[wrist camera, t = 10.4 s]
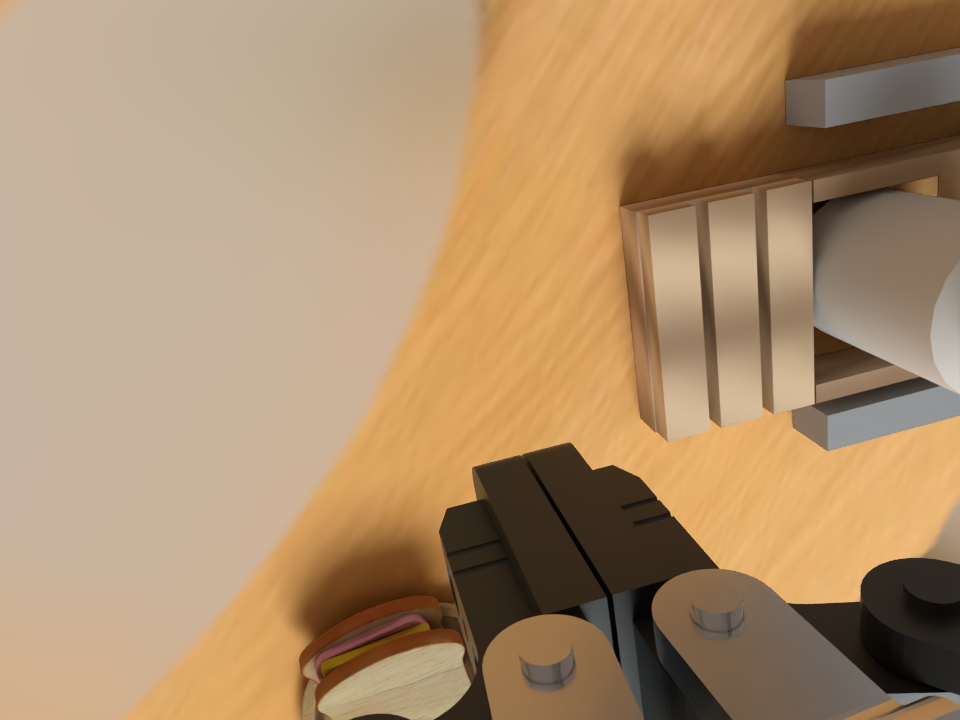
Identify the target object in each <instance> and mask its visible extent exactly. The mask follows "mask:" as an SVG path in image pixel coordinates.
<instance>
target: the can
mask: <svg viewBox="0 0 960 720" xmlns="http://www.w3.org/2000/svg"><path fill="white" fill-rule="evenodd" d="M812 245H813V320H814V326H815V327H816V328H817V329H819V330H820V331H823V332H825V333H827V334H829V335H831V336H833V337H836V338H838V339H840V340H842V341H844V342H846V343H849V344H851V345H853V346H855V347H857V348H859V349H862V350H864V351H866V352H868V353H870V354H872V355H875V356H877V357H879V358H881V359H883V360H886V361H888V362H890V363H892V364H894V365H896V366H899V367H901V368H903V369H905V370H907V371H909V372H912V373H914V374H916V375H918V376H920V377H922V378H925V379H927V380H929V381H931V382H933V383H935V384H938V385H940V386H942V387H944V388H946V389H948V390H951V391H953V392H955V393H957V394H959V395H960V201H959V200H953V199H947V198H941V197H935V196H929V195H923V194H917V193H911V192H905V191H899V190H893V189H887V188H879V189H874V190H870V191H865V192H861V193H856V194H851V195H847V196H842V197H838V198H833V199H831V200H830V201H829V202H828V203H826V204H825V205H824V206H823V207H822V208H820V209H819V210H818V211H817V212H816V213H814V215H813V216H812Z"/></svg>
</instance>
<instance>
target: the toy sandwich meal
mask: <svg viewBox="0 0 960 720" xmlns="http://www.w3.org/2000/svg"><path fill="white" fill-rule="evenodd" d="M299 662H300V669H301V673H302V675H303V676H305V677H306V678H308V679H309V681H308V683H307V686H306V689H305V692H304V696H303V700H302V707H301V720H350V719H353V718H356V717H360V716H363V715H369V714H377V713H379V714H393V715H399V716H402V717H405V718H407V719H410V720H434V719H435V718H437V717H439V716H440V715H442V714H443V713H444V712H446V711H447V710H449V709H450V708H451V707H452V706H453V705H455V704H456V703H457V702H458V701H459V700H460V699H461V698H462V696H463V695H464V694H465V693H466V692H467V690H468V689H469V687H470V685H471V684H472V682H473V679H474V677H475V673H474V670H473V666H472V663H471V660H470V657H469V654H468V650H467V647H466V643H465V641H464V637H463V634H462V631H461V627H460V624H459V621H458V617H457V613H456V608H455V604H451V603H439V602H438V600H437V598H435V597H433V596H429V595H417V596H410V597H405V598H400V599H396V600H392V601H388V602H385V603H382V604H379V605H376V606H374V607H371V608H369V609H366V610H364V611H362V612H359V613H357V614H355V615H353V616H351V617H349V618H347V619H345V620H344V621H342V622H340V623H338V624H337V625H335V626H334V627H332V628H330V629H329V630H327V631H326V632H324V633H323V634H322V635H320V636H319V637H317V638H316V639H315V640H314V641H313V642H312V643H310V644H309V645H308V646H307V647H306V648H305V649H304V651H303V652H302V653H301V655H300V658H299Z"/></svg>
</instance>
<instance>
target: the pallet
mask: <svg viewBox="0 0 960 720" xmlns="http://www.w3.org/2000/svg"><path fill="white" fill-rule="evenodd" d="M934 176H939V187H938V197H941V198H947V199H953V200H959V201H960V135H957V136H953V137H948V138H943V139H938V140H933V141H929V142H924V143H919V144H914V145H910V146H905V147H900V148H895V149H891V150H886V151H881V152H876V153H872V154H867V155H862V156H857V157H853V158H848V159H843V160H838V161H834V162H829V163H824V164H819V165H815V166H810V167H805V168H800V169H795V170H791V171H786V172H781V173H776V174H772V175H767V176H762V177H757V178H753V179H748V180H743V181H738V182H734V183H729V184H724V185H719V186H715V187H710V188H705V189H700V190H696V191H691V192H686V193H681V194H677V195H672V196H667V197H662V198H658V199H653V200H648V201H643V202H638V203H634V204H629V205H624V206H619V207H620V217H621V227H622V237H623V247H624V257H625V267H626V277H627V287H628V297H629V307H630V317H631V327H632V337H633V347H634V357H635V366H636V376H637V386H638V396H639V406H640V416H641V419H642V420H643V421H644V422H645V423H646V424H647V425H648V426H649V427H650V428H651V429H652V430H653V431H654V432H658V433H659V434H660V435H661V436H662V437H663V438H664V439H665V440H666V441H667V442H670V441H674V440H678V439H682V438H685V437H689V436H693V435H697V434H701V433H705V432H709V431H710V421H709V419H711V420H712V421H713V422H714V423H716V424H717V425H718V426H720V427H721V428H724V427H728V426H732V425H736V424H739V423H743V422H747V421H751V420H755V419H759V418H763V407H764V408H765V409H767V410H768V411H770V412H771V413H773V414H778V413H782V412H786V411H790V410H793V409H797V408H801V407H805V406H809V405H813V404H815V403H816V404H817V403H820V402H824V401H828V400H832V399H836V398H840V397H844V396H847V395H851V394H855V393H859V392H863V391H867V390H871V389H874V388H878V387H882V386H886V385H890V384H894V383H898V382H901V381H905V380H909V379H913V378H917V377H920V376H918V375H916V374H914V373H912V372H909V371H907V370H905V369H903V368H901V367H899V366H896V365H894V364H892V363H890V362H888V361H886V360H883V359H881V358H879V357H877V356H875V355H872V354H870V353H868V352H866V351H864V350H862V349H859V348H857V347H853V348H849V349H845V350H841V351H837V352H833V353H829V354H825V355H821V356H817V357H814V320H813V245H812V202H813V203H815V202H819V201H824V200H828V199H833V198H838V197H842V196H847V195H851V194H856V193H861V192H865V191H870V190H874V189H879V188H884V187H888V186H893V185H897V184H902V183H907V182H911V181H916V180H920V179H925V178H929V177H934Z"/></svg>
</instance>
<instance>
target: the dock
mask: <svg viewBox="0 0 960 720" xmlns="http://www.w3.org/2000/svg"><path fill="white" fill-rule="evenodd" d="M785 101H786V125H792V126H806V127H819V128H828V127H833V126H838V125H843V124H848V123H852V122H857V121H862V120H867V119H872V118H877V117H882V116H887V115H892V114H897V113H902V112H907V111H912V110H917V109H921V108H926V107H931V106H936V105H941V104H946V103H951V102H956V101H960V47H958V48H953V49H947V50H942V51H937V52H932V53H926V54H921V55H916V56H911V57H906V58H900V59H895V60H890V61H885V62H879V63H874V64H869V65H864V66H859V67H853V68H848V69H843V70H838V71H832V72H827V73H822V74H817V75H812V76H806V77H801V78H796V79H791V80H785ZM956 416H960V395H959V394H957V393H955V392H953V391H951V390H948V389H946V388H944V387H942V386H940V385H938V384H935V383H933V382H931V381H929V380H927V379H925V378H922V377H917V378H913V379H909V380H905V381H901V382H898V383H894V384H890V385H886V386H882V387H878V388H874V389H871V390H867V391H863V392H859V393H855V394H851V395H847V396H844V397H840V398H836V399H832V400H828V401H824V402H820V403H817V404H816V403H815V404H813V405H809V406H805V407H801V408H797V409H793V428H794V429H796V430H797V431H799V432H800V433H802V434H803V435H805V436H806V437H808V438H809V439H811V440H812V441H814V442H815V443H816V444H818V445H819V446H821V447H822V448H824V449H825V450H827V451H830V450H834V449H838V448H841V447H845V446H849V445H852V444H856V443H860V442H864V441H867V440H871V439H875V438H878V437H882V436H886V435H889V434H893V433H897V432H901V431H904V430H908V429H912V428H915V427H919V426H923V425H927V424H930V423H934V422H938V421H941V420H945V419H949V418H952V417H956Z"/></svg>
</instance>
